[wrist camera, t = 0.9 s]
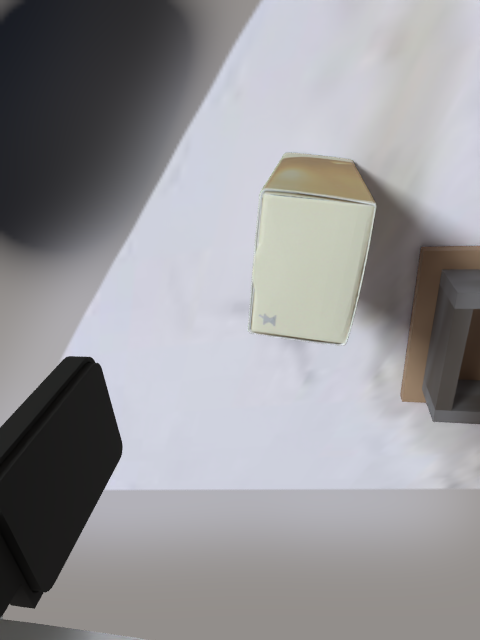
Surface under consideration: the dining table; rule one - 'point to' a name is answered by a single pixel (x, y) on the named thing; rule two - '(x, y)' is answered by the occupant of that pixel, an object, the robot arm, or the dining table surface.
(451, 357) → the sleeve stand
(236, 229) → the dining table surface
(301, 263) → the skincare box
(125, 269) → the dining table surface
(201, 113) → the dining table surface
